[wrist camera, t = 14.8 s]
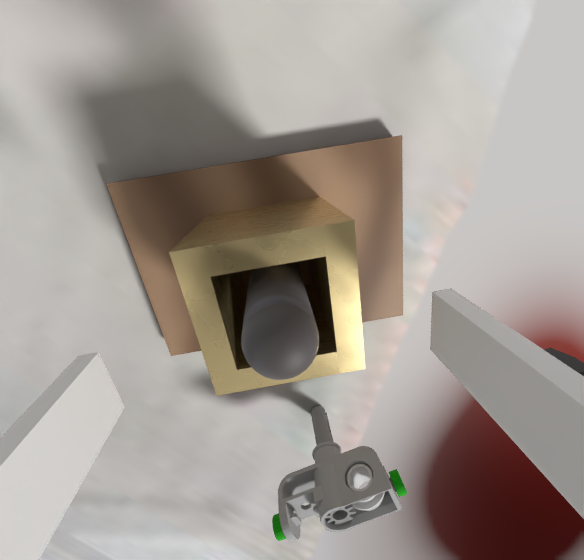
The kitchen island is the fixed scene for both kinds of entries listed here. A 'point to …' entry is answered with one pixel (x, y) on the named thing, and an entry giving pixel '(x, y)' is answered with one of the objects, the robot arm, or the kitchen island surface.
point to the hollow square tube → (263, 253)
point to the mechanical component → (336, 487)
